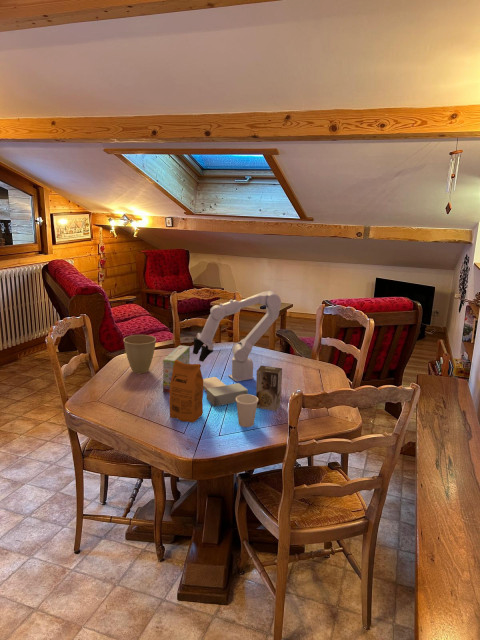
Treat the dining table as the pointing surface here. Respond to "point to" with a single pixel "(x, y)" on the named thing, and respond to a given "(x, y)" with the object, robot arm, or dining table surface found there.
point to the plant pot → (140, 352)
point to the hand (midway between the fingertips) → (197, 357)
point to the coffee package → (186, 392)
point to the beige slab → (225, 394)
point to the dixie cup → (246, 409)
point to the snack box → (178, 354)
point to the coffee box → (268, 387)
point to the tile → (211, 383)
